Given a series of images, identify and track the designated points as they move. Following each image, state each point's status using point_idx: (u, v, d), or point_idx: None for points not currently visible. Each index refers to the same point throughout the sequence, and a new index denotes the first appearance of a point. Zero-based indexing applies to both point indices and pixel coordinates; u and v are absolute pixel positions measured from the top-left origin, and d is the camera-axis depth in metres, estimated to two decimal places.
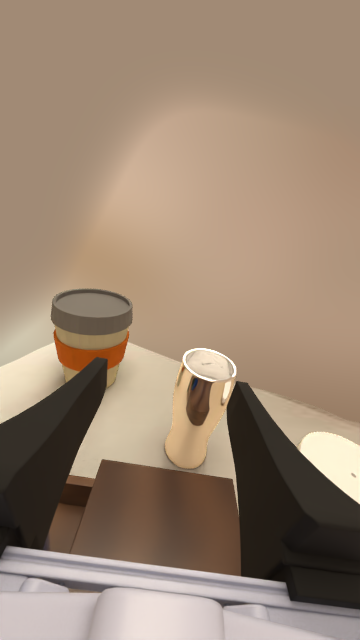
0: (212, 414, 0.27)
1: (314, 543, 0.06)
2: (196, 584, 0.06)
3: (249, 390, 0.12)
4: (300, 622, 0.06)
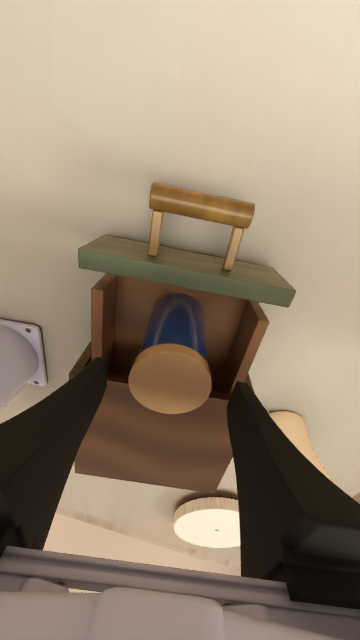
0: None
1: (314, 543, 0.06)
2: (196, 584, 0.06)
3: (249, 390, 0.12)
4: (300, 622, 0.06)
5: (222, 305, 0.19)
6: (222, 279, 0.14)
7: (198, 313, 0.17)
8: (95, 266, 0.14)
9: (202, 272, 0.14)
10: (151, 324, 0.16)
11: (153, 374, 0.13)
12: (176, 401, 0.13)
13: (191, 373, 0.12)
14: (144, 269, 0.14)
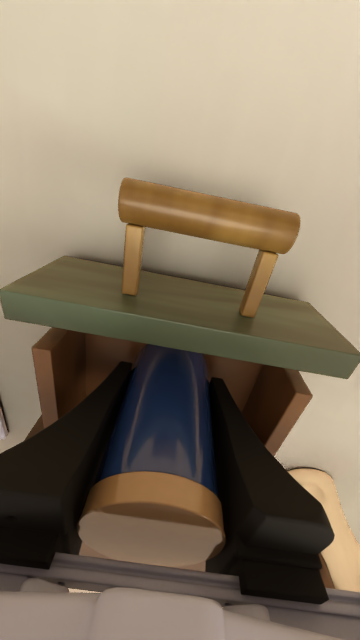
0: None
1: (265, 536, 0.06)
2: (196, 584, 0.06)
3: (223, 386, 0.12)
4: (300, 622, 0.06)
5: None
6: (243, 338, 0.09)
7: (200, 373, 0.12)
8: (30, 317, 0.09)
9: (208, 328, 0.08)
10: (127, 401, 0.10)
11: (119, 527, 0.07)
12: (163, 555, 0.08)
13: (189, 528, 0.07)
14: (112, 322, 0.09)
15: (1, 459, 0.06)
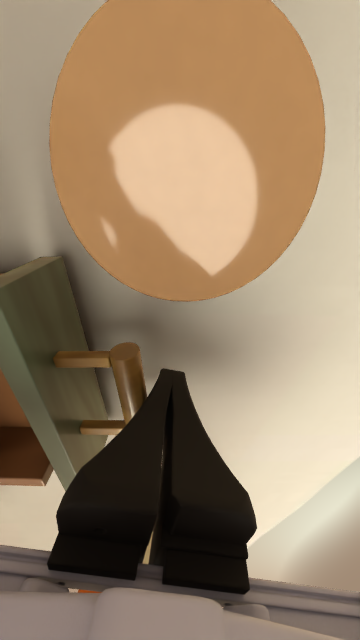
0: None
1: (187, 525, 0.06)
2: (196, 584, 0.06)
3: (181, 378, 0.12)
4: (300, 622, 0.06)
5: None
6: (62, 451, 0.12)
7: None
8: None
9: (57, 435, 0.11)
10: None
11: (221, 100, 0.04)
12: (125, 219, 0.04)
13: (246, 237, 0.04)
14: (22, 382, 0.10)
15: (87, 471, 0.06)
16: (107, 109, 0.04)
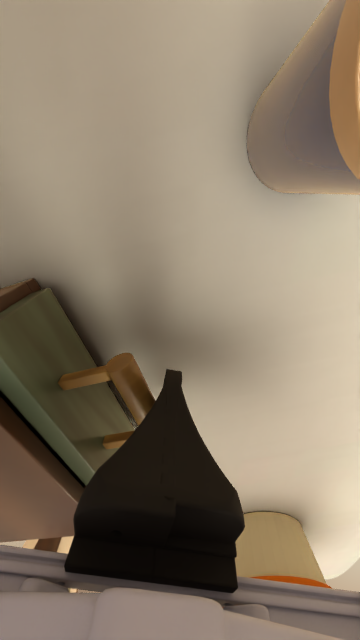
0: None
1: (175, 523, 0.06)
2: (196, 584, 0.06)
3: (175, 377, 0.12)
4: (300, 622, 0.06)
5: None
6: (88, 468, 0.13)
7: None
8: None
9: (78, 453, 0.12)
10: None
11: None
12: None
13: None
14: (32, 409, 0.11)
15: (103, 474, 0.06)
16: None
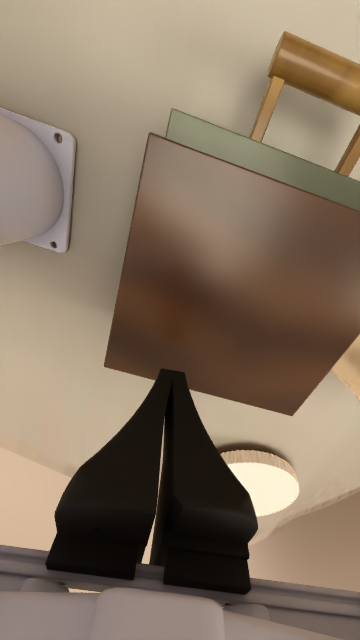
0: None
1: (188, 525, 0.06)
2: (196, 584, 0.06)
3: (182, 379, 0.12)
4: (300, 622, 0.06)
5: None
6: (346, 181, 0.11)
7: None
8: (187, 140, 0.11)
9: (323, 167, 0.11)
10: None
11: None
12: None
13: None
14: (251, 153, 0.11)
15: (85, 471, 0.06)
16: None
